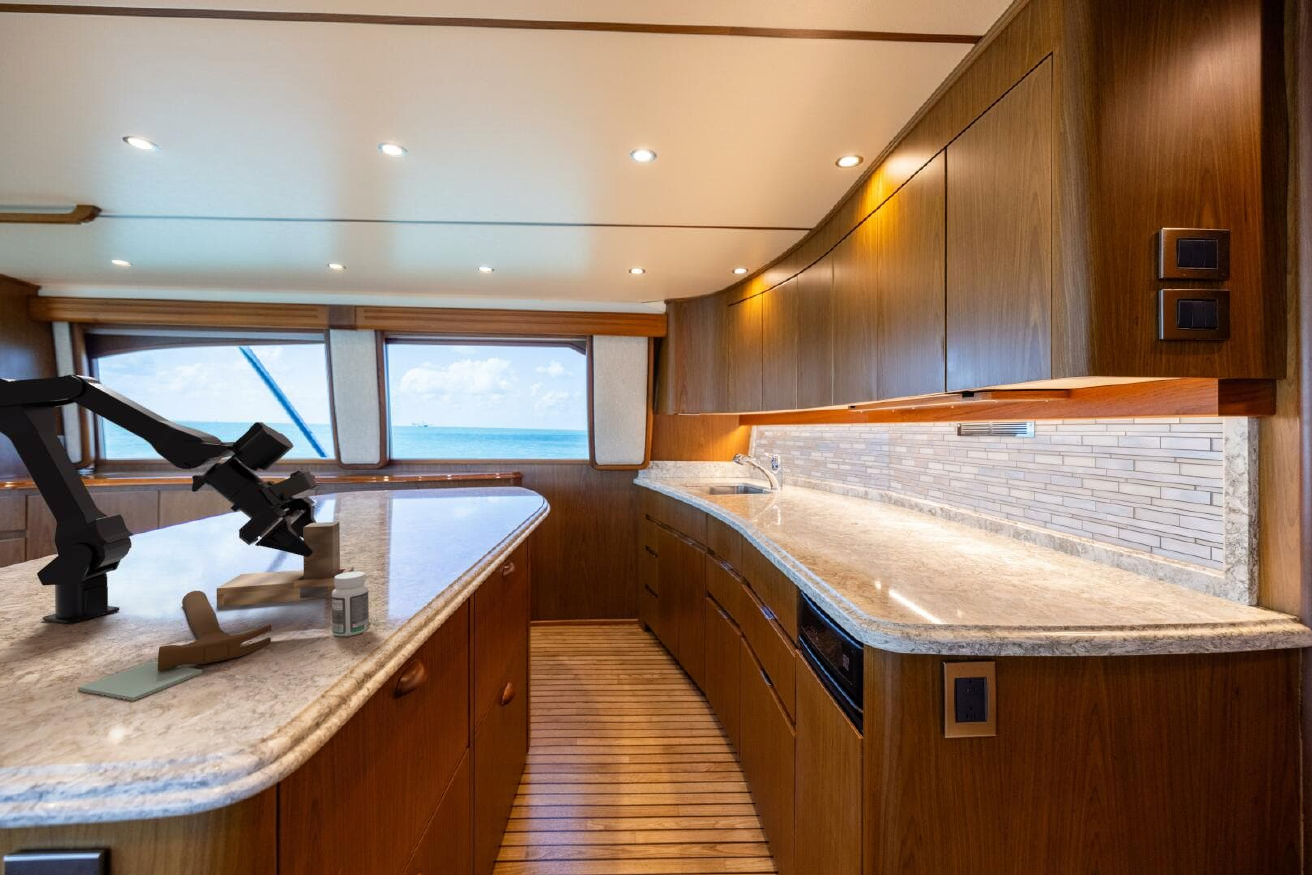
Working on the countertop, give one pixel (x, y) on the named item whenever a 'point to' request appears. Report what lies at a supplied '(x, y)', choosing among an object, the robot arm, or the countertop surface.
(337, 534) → the brown wooden block
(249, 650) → the hammer
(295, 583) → the slotted wooden slab
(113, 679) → the rubber mat
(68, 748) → the countertop surface
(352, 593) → the pill bottle
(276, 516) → the robot arm
